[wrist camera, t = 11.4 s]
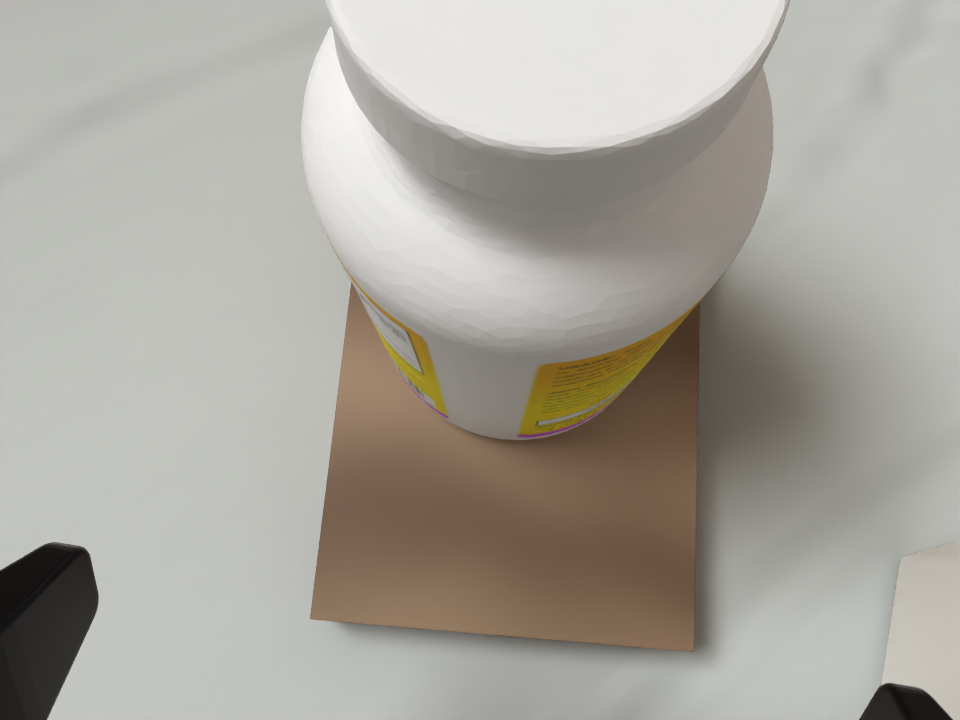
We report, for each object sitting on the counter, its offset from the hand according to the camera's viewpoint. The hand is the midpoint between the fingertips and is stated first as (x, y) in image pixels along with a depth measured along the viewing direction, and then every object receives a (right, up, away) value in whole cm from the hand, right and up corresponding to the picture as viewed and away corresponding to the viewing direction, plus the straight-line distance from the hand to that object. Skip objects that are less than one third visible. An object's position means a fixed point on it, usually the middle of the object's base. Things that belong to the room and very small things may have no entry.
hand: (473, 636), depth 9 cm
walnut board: (+1, +4, +13) cm, 13 cm away
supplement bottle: (+1, +4, +11) cm, 12 cm away
